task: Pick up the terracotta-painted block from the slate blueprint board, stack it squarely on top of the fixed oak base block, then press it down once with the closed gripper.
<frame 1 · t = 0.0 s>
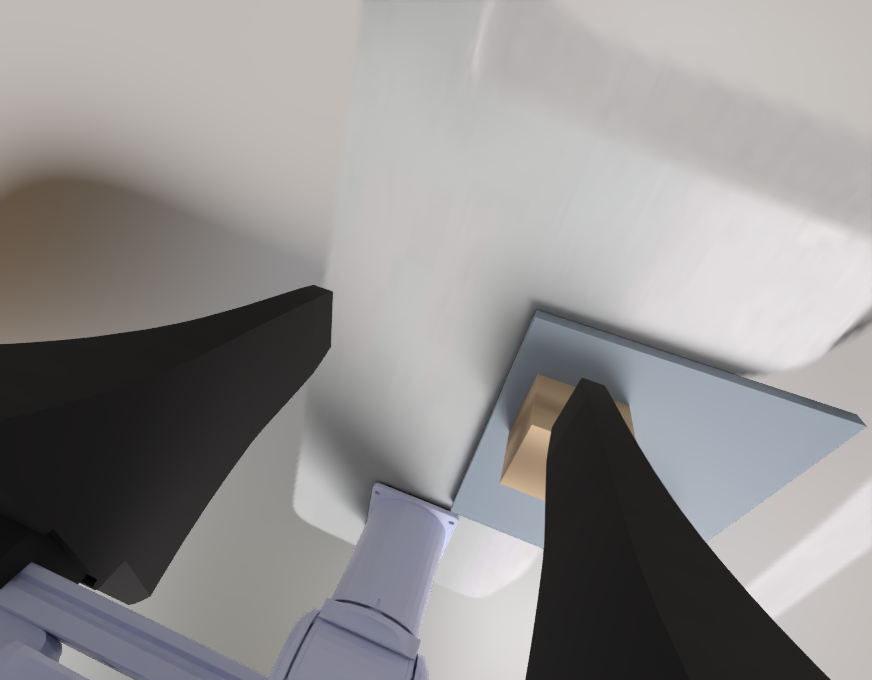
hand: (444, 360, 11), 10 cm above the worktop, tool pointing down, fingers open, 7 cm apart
blueprint board: (599, 470, 25), on the worktop
oak base block: (564, 419, 23), resting on blueprint board
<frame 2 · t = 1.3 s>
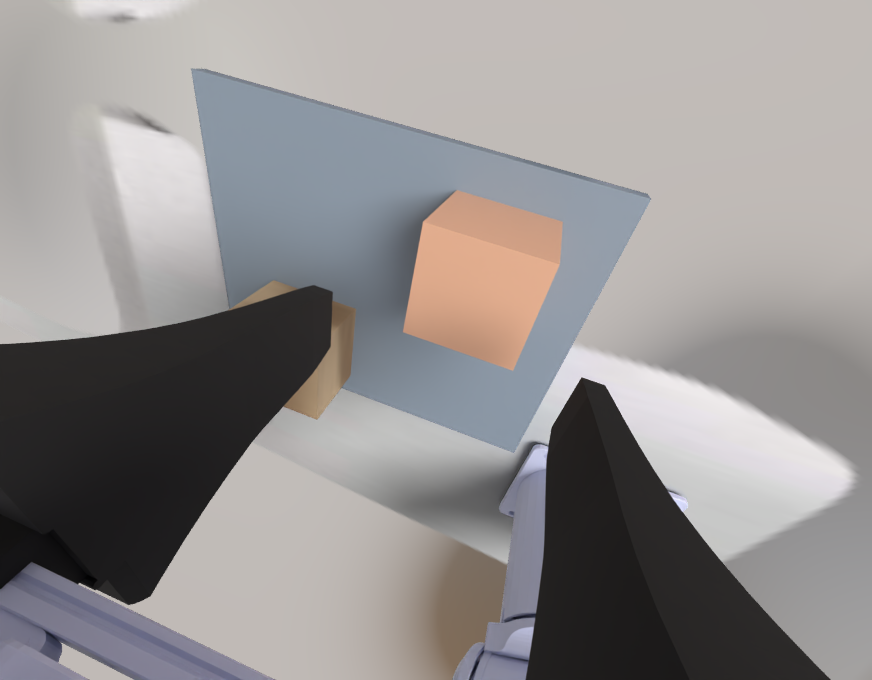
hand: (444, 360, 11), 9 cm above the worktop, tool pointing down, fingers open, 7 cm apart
terracotta block: (493, 255, 17), point 1 cm above the worktop, touching blueprint board
blueprint board: (387, 289, 21), on the worktop
oak base block: (314, 330, 23), resting on blueprint board
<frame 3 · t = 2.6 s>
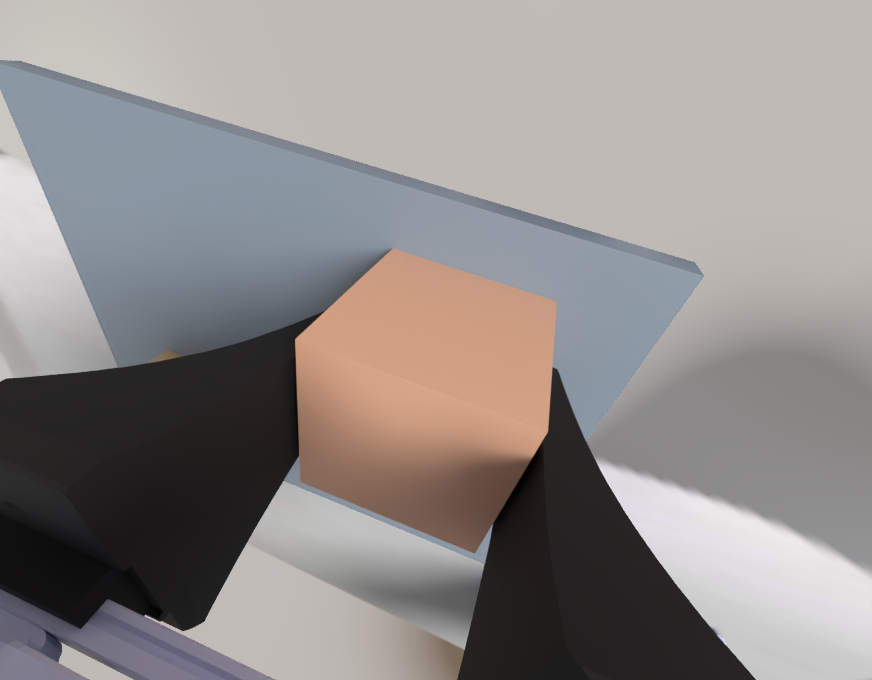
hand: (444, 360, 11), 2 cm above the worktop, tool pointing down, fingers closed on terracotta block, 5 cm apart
terracotta block: (453, 340, 11), point 1 cm above the worktop, touching blueprint board, gripper
blueprint board: (317, 366, 15), on the worktop
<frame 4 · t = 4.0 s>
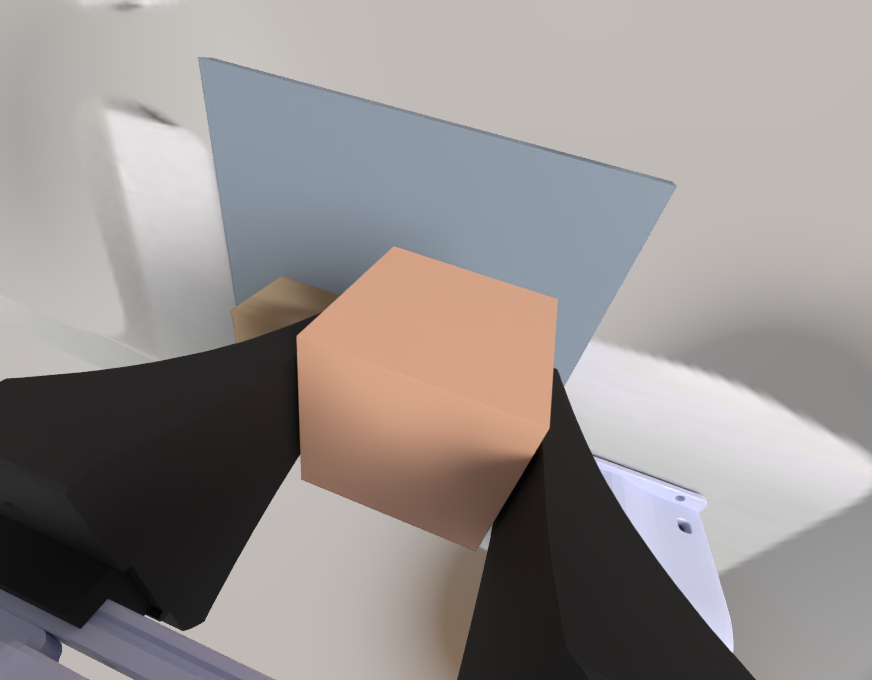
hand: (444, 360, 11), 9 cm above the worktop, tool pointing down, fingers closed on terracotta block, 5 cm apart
terracotta block: (454, 339, 11), point 8 cm above the worktop, touching gripper
blueprint board: (398, 284, 20), on the worktop
oak base block: (323, 327, 22), resting on blueprint board
when the fingers open (7 cm above the worktop, at t = 5.7 s): terracotta block stays where it is, resting on oak base block.
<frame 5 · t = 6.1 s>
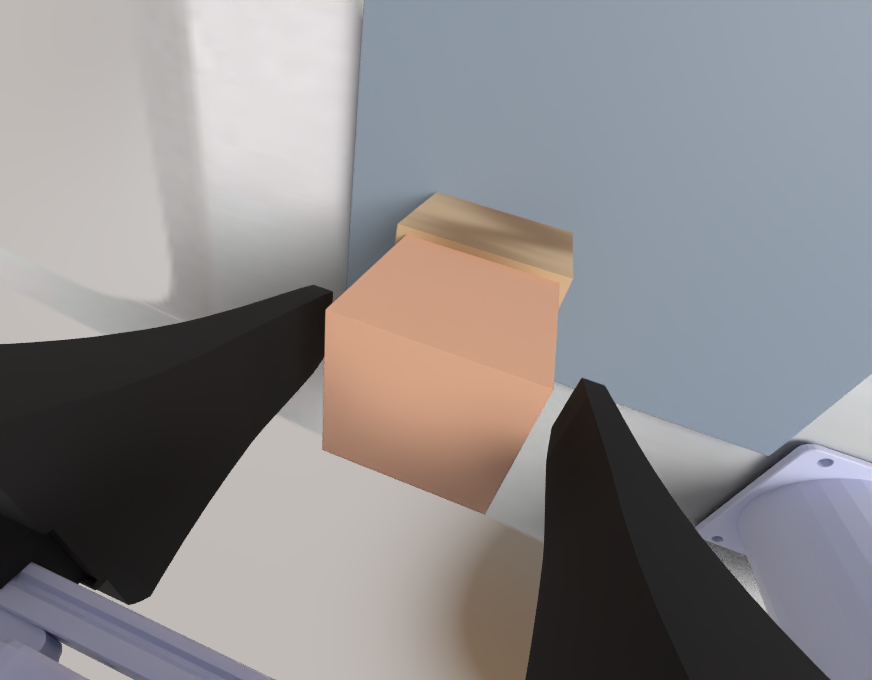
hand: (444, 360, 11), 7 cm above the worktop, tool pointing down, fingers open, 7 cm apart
terracotta block: (462, 322, 12), point 5 cm above the worktop, touching oak base block
blueprint board: (628, 199, 13), on the worktop
oak base block: (483, 274, 15), resting on blueprint board
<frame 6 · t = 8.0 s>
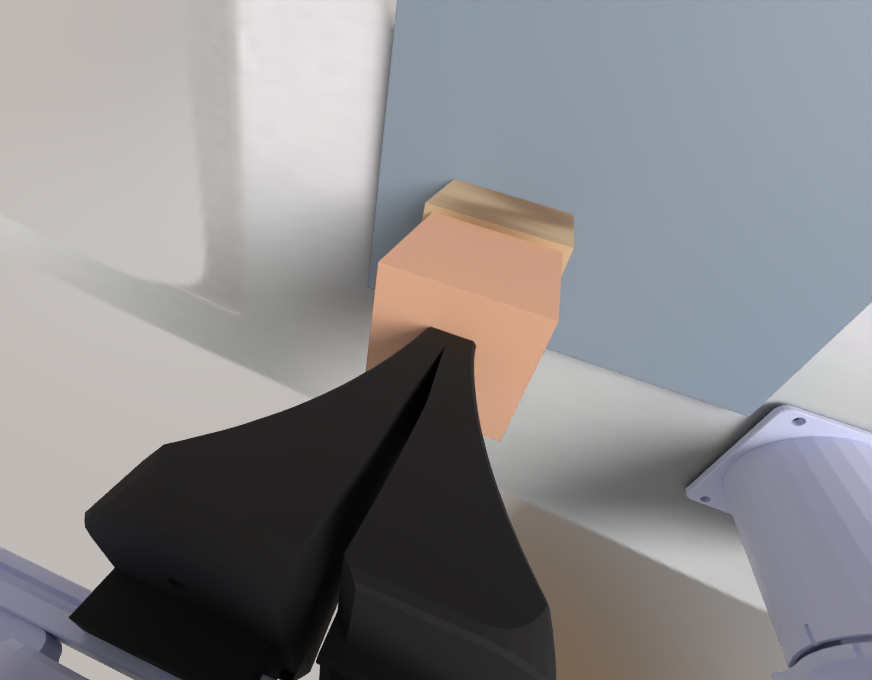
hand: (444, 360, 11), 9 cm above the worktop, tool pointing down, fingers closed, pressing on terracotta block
terracotta block: (478, 289, 14), point 5 cm above the worktop, touching gripper, oak base block
blueprint board: (622, 184, 15), on the worktop
oak base block: (494, 252, 17), resting on blueprint board
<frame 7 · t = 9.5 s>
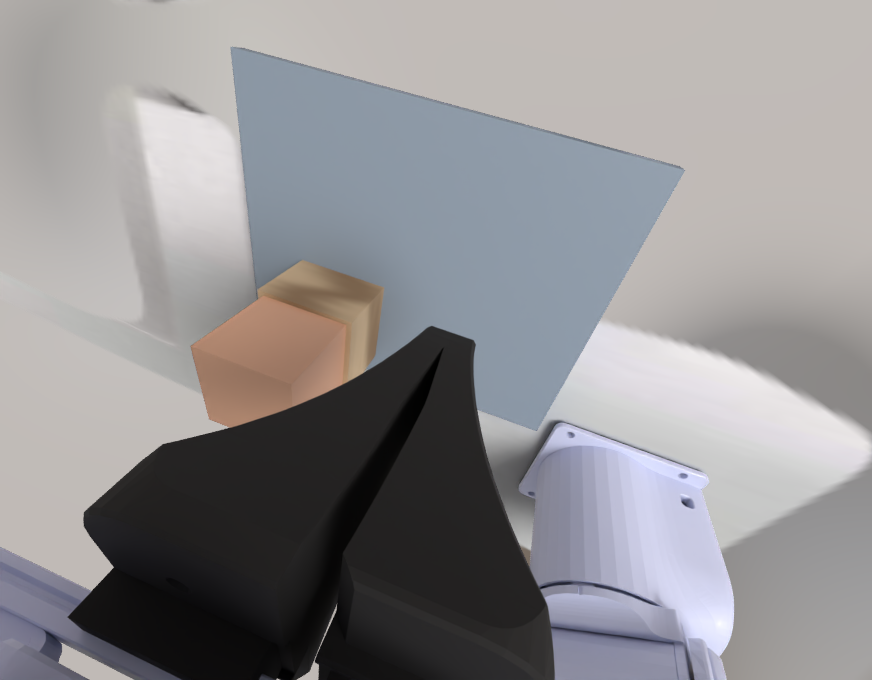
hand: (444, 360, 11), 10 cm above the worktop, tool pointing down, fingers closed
terracotta block: (304, 345, 20), point 5 cm above the worktop, touching oak base block
blueprint board: (415, 267, 21), on the worktop
oak base block: (340, 310, 23), resting on blueprint board
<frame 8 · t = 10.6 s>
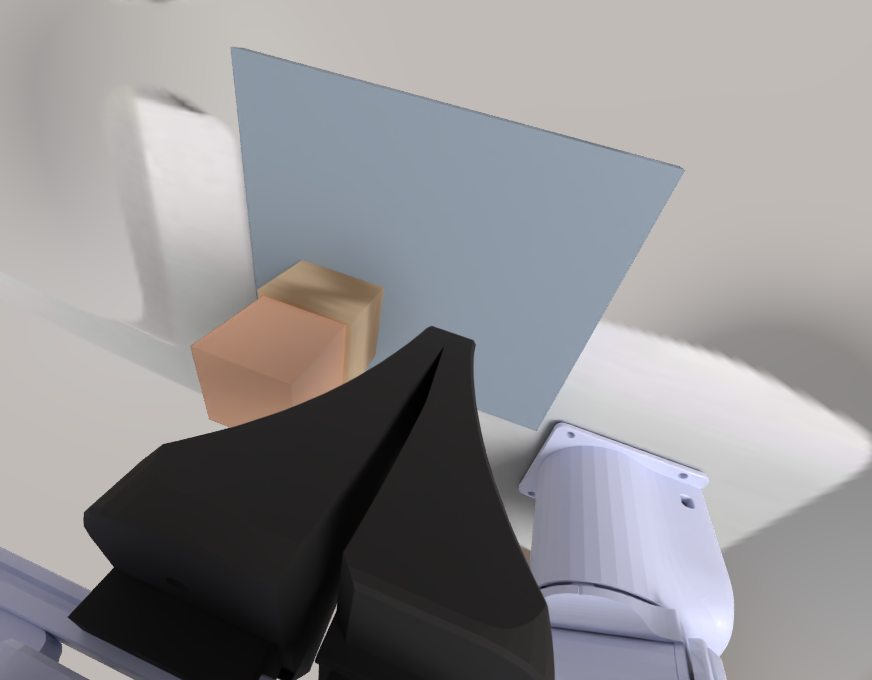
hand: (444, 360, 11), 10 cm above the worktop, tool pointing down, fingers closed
terracotta block: (304, 345, 20), point 5 cm above the worktop, touching oak base block
blueprint board: (415, 267, 21), on the worktop
oak base block: (340, 310, 23), resting on blueprint board
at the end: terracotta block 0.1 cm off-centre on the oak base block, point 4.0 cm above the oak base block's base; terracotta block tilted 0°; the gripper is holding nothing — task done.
